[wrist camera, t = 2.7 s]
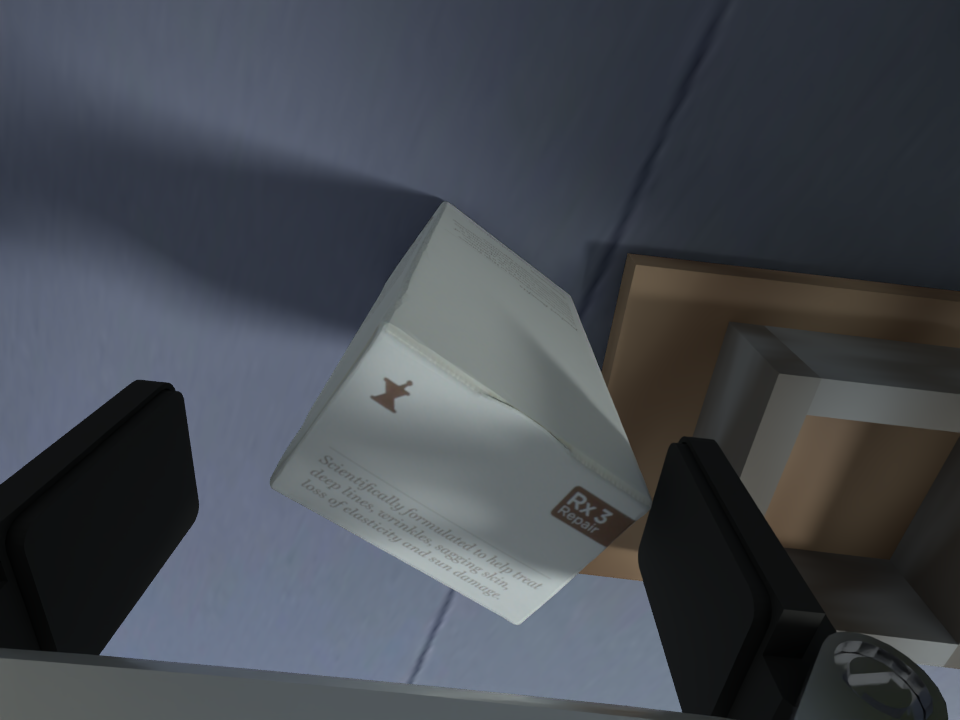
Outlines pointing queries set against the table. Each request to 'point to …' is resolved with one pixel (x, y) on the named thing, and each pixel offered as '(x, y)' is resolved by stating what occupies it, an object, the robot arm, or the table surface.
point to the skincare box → (470, 427)
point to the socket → (808, 428)
